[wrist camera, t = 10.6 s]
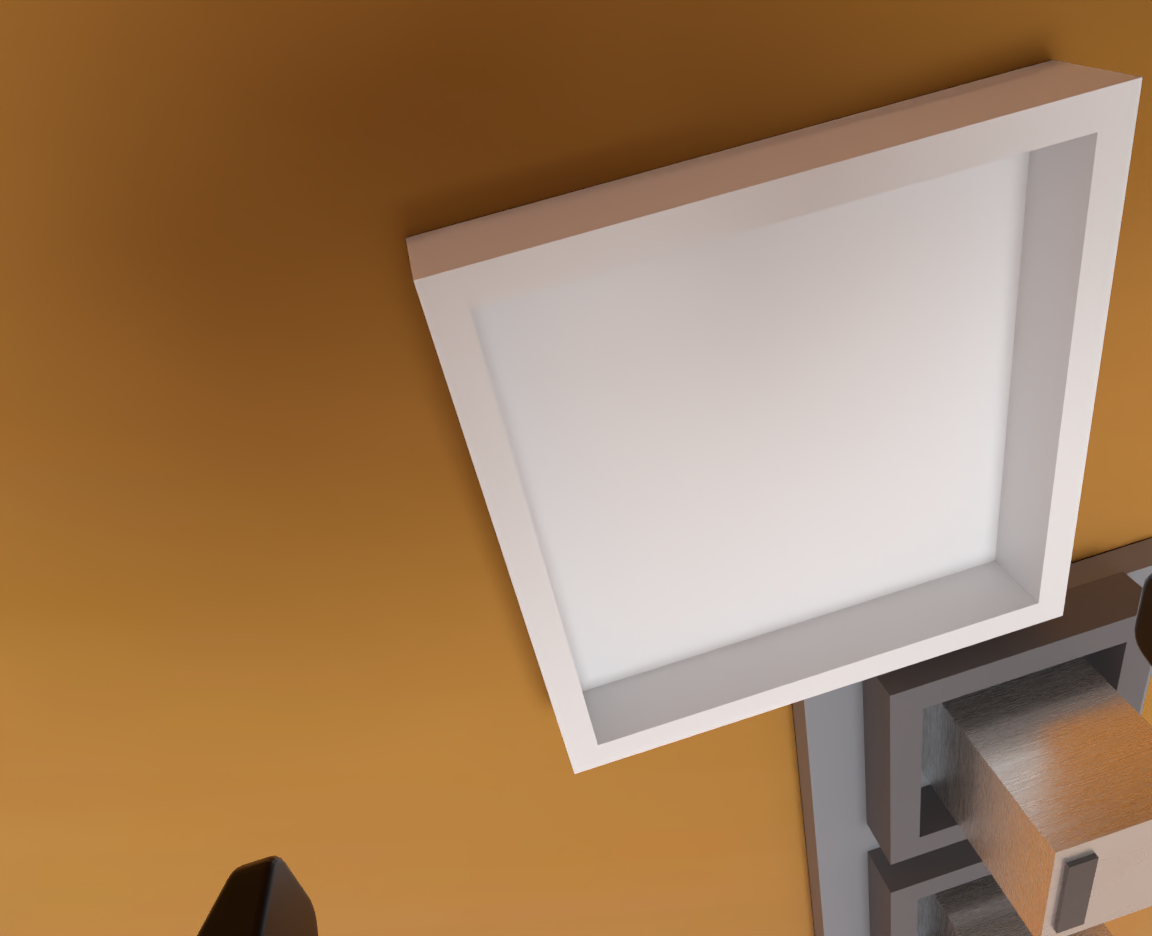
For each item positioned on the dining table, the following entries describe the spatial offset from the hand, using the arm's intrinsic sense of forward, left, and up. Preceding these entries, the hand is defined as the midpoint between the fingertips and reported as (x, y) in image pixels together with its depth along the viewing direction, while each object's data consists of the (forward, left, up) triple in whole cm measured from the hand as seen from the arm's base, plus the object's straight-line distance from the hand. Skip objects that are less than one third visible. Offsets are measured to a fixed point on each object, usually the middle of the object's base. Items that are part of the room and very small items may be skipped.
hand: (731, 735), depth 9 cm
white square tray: (-5, +5, -12) cm, 14 cm away
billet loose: (-11, +17, -11) cm, 23 cm away
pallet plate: (-11, +22, -12) cm, 27 cm away
